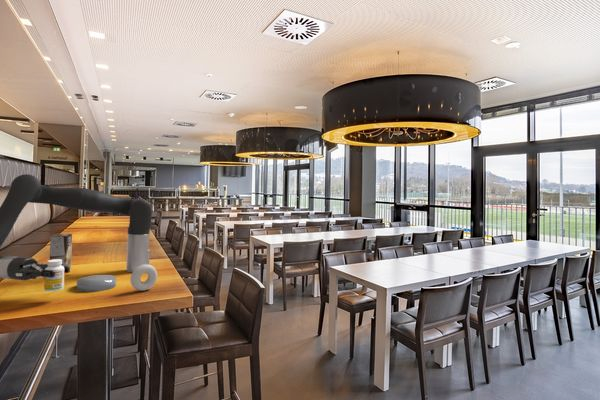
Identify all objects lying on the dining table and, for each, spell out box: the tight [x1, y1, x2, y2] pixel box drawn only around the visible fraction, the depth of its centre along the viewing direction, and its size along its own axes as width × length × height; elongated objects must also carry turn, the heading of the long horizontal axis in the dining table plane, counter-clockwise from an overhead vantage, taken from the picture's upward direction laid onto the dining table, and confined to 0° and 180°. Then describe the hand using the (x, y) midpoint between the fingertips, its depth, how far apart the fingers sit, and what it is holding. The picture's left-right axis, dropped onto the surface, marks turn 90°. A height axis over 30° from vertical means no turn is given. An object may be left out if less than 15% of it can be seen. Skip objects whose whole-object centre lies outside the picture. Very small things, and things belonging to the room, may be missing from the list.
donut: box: [129, 264, 158, 292], centre depth 130 cm, size 10×4×10 cm, turn 139°
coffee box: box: [49, 233, 73, 269], centre depth 153 cm, size 9×6×16 cm
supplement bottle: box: [43, 259, 65, 292], centre depth 114 cm, size 5×5×10 cm
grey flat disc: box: [76, 274, 117, 293], centre depth 132 cm, size 13×13×3 cm
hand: (61, 271), depth 114 cm, fingers closed on supplement bottle, 5 cm apart
